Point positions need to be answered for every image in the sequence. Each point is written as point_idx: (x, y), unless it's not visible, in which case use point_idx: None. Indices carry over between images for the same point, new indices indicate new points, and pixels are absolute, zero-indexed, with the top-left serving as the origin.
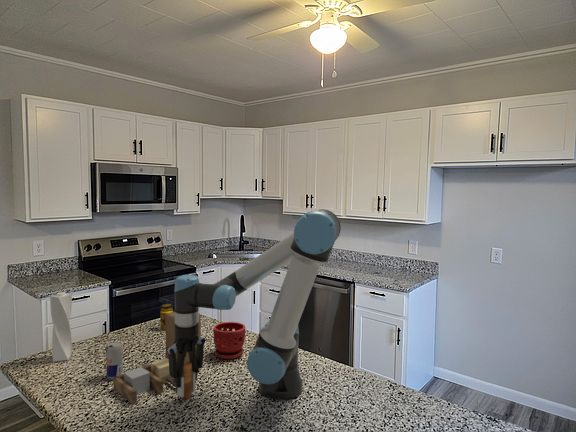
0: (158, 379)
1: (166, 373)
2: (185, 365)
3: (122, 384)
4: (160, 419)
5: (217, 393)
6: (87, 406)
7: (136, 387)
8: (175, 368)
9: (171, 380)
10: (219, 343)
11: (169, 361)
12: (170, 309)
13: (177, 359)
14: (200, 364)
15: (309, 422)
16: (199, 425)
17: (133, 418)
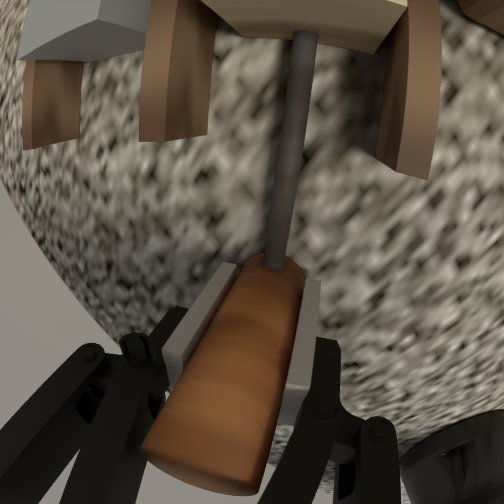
0: (152, 90)
1: (292, 15)
2: (173, 473)
3: None
4: (111, 305)
5: (378, 371)
6: (13, 55)
7: (80, 54)
8: (77, 438)
9: (301, 88)
10: None
11: (8, 434)
12: None
13: (73, 480)
14: (342, 478)
15: None
16: None
17: (54, 226)
